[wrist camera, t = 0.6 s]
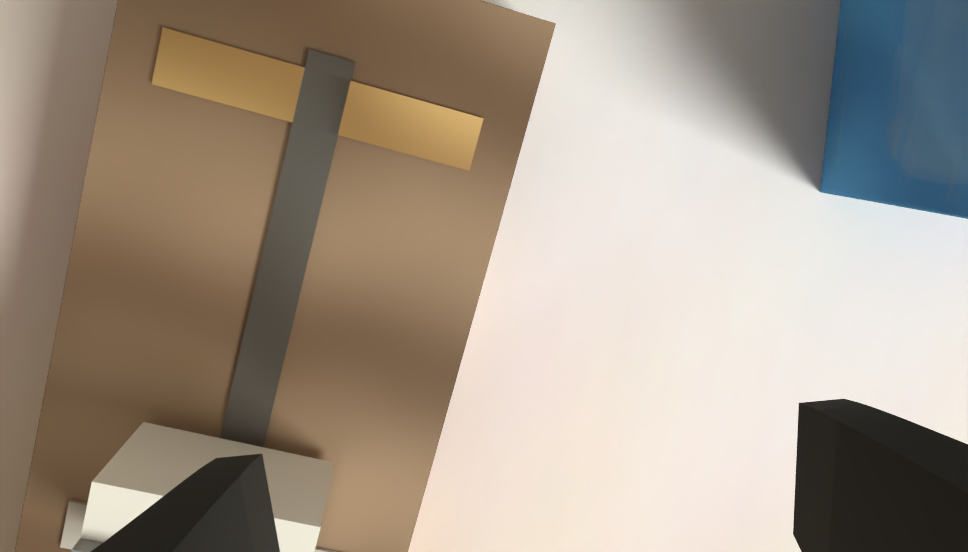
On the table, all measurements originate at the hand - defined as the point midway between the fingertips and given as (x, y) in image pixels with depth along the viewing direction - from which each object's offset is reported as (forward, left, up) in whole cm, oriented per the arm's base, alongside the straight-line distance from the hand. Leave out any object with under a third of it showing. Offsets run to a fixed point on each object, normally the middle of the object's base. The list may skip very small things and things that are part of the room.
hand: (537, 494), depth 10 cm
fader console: (-5, +2, -11) cm, 12 cm away
